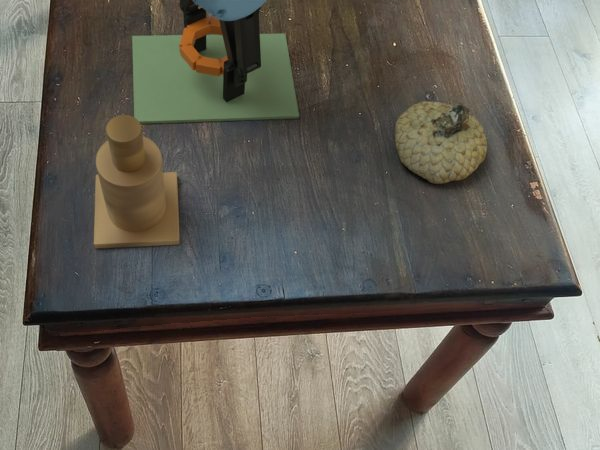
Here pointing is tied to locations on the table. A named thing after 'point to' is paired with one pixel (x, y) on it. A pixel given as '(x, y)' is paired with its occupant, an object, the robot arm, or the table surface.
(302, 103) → the table surface
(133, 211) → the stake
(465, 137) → the acorn cap
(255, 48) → the robot arm
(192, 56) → the ring
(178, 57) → the mat
